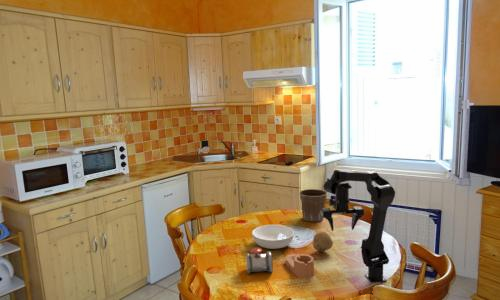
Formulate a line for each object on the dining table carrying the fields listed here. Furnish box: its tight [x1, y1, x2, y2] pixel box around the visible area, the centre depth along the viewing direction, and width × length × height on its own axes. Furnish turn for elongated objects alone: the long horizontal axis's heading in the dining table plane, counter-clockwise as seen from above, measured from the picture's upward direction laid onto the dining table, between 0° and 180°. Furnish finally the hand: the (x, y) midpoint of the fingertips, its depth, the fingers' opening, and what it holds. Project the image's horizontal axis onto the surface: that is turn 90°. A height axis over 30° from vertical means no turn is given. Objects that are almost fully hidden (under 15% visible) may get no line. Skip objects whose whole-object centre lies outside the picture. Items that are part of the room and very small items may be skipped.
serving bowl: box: [251, 224, 295, 250], centre depth 183 cm, size 21×21×7 cm
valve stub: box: [245, 247, 274, 274], centre depth 157 cm, size 10×9×10 cm
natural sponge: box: [312, 230, 334, 253], centre depth 173 cm, size 9×9×10 cm
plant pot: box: [298, 188, 328, 223], centre depth 217 cm, size 16×16×16 cm
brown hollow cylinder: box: [284, 253, 315, 280], centre depth 158 cm, size 18×8×7 cm, turn 16°
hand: (342, 230), depth 166 cm, fingers open, 9 cm apart
